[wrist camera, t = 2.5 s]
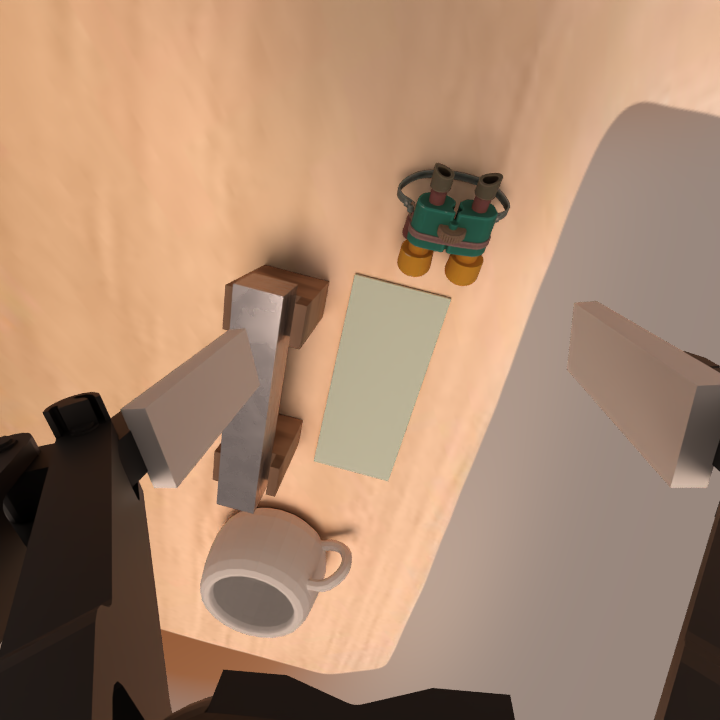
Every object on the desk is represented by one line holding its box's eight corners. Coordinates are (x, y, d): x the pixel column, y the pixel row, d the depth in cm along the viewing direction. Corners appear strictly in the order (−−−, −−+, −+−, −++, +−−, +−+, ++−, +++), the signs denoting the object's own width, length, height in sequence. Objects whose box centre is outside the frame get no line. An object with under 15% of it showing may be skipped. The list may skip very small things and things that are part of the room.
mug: (252, 582, 62) (224, 649, 53) (205, 508, 56) (165, 569, 47) (374, 569, 57) (366, 641, 48) (337, 486, 51) (320, 550, 42)
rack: (246, 430, 48) (212, 479, 40) (264, 264, 39) (225, 284, 31) (298, 444, 48) (274, 496, 40) (329, 281, 39) (306, 306, 31)
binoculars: (396, 206, 37) (380, 279, 32) (413, 104, 29) (395, 178, 24) (490, 223, 36) (489, 299, 31) (533, 124, 29) (541, 204, 23)
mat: (314, 458, 49) (313, 461, 48) (355, 273, 38) (354, 274, 38) (388, 478, 49) (388, 481, 48) (450, 298, 38) (451, 299, 37)
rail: (233, 477, 43) (216, 504, 39) (253, 272, 32) (233, 283, 28) (267, 486, 42) (253, 514, 39) (298, 284, 32) (283, 296, 28)
